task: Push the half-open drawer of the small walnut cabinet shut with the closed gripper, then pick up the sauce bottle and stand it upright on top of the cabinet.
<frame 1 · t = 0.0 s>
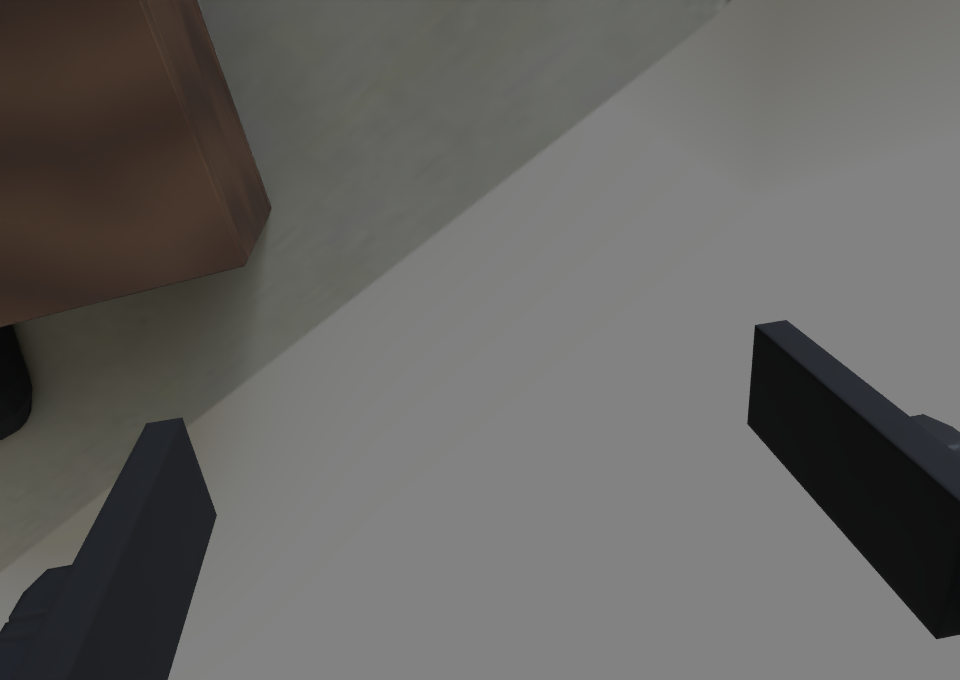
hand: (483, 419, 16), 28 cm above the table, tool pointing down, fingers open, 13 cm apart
cabinet: (107, 106, 38), on the table
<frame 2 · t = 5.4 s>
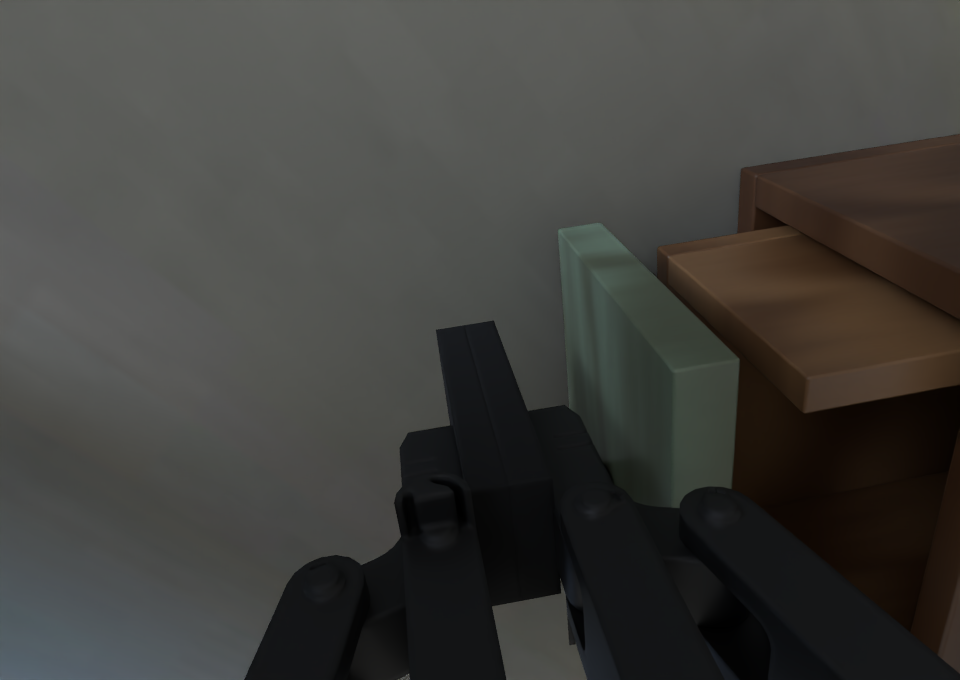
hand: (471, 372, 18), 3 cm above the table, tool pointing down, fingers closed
drawer: (839, 449, 18), point 5 cm above the table, slide at 4.3 cm, touching gripper
cabinet: (942, 326, 23), on the table
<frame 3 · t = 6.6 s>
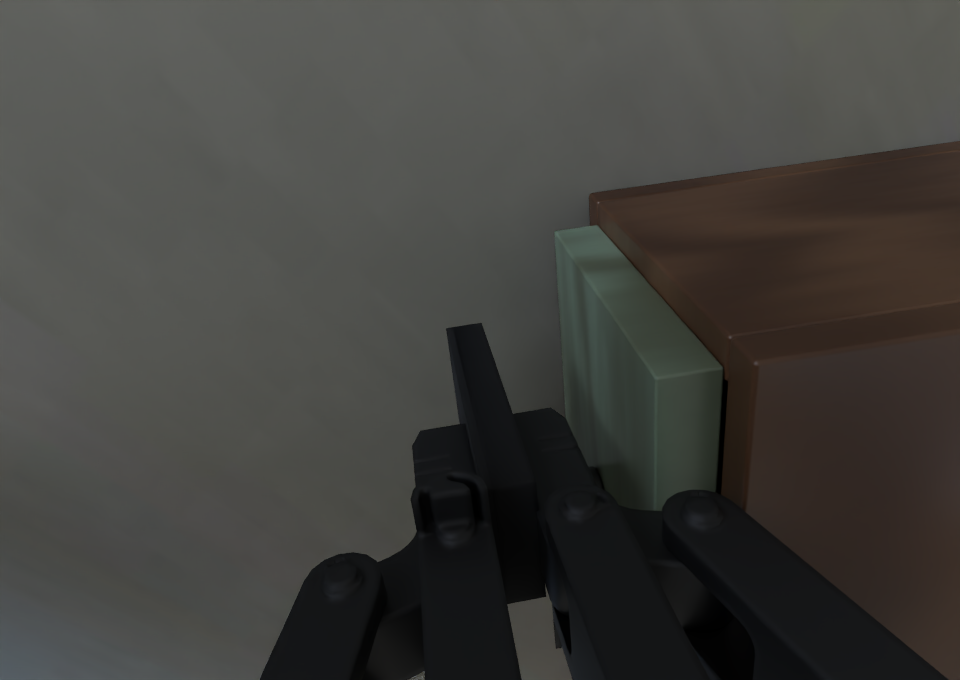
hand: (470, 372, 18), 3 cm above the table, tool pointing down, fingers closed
drawer: (835, 458, 18), point 5 cm above the table, slide at 0.0 cm, touching cabinet, gripper
cabinet: (820, 355, 23), on the table
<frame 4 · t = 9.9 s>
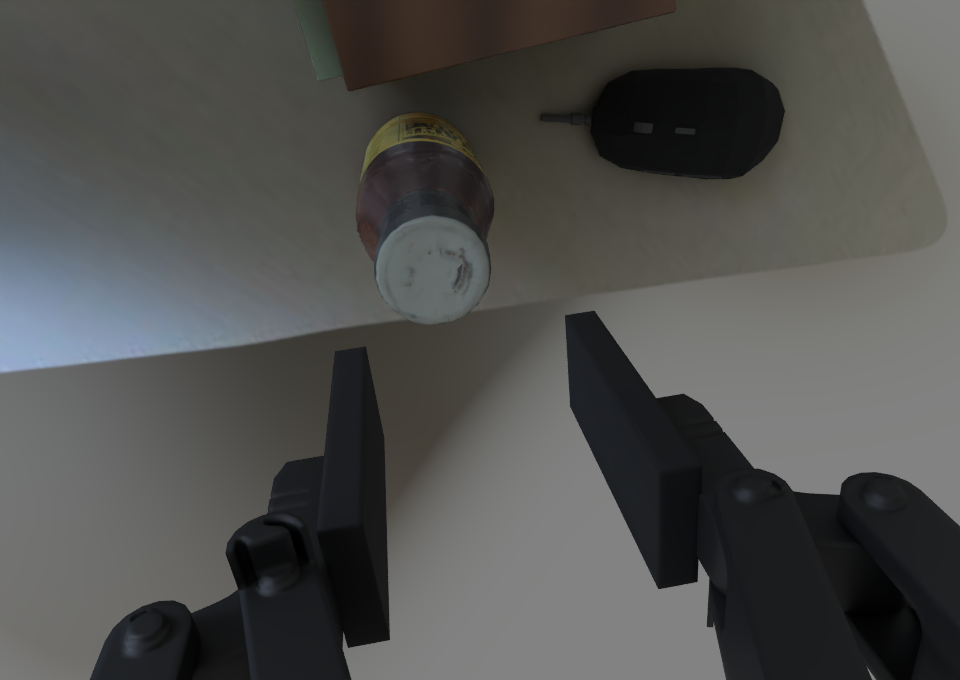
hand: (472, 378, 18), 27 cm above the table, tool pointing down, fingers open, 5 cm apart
sauce bottle: (415, 159, 42), on the table
gaming mouse: (658, 119, 43), on the table
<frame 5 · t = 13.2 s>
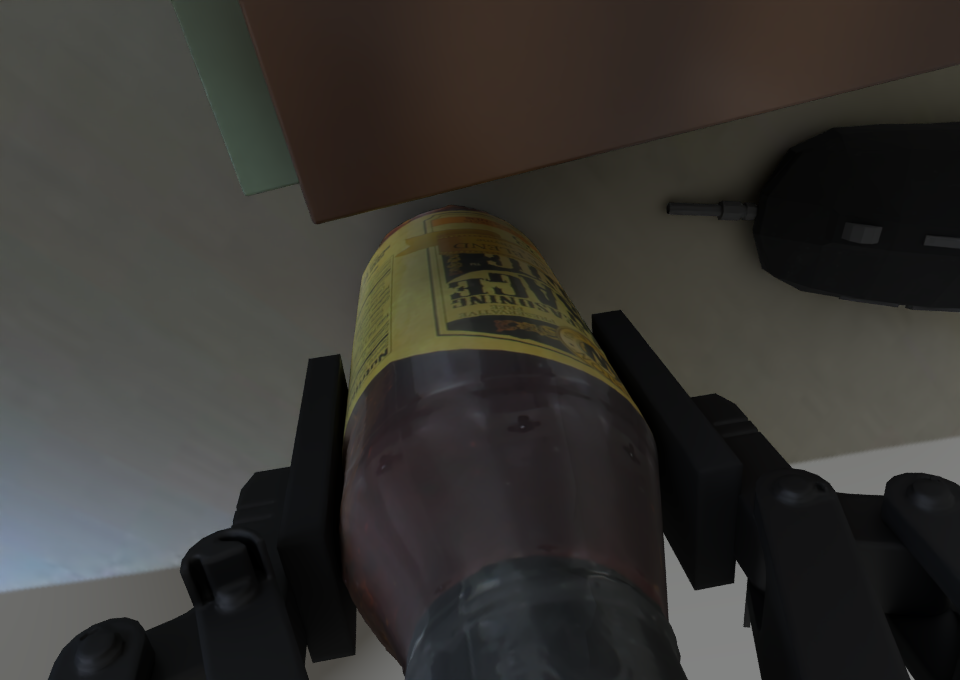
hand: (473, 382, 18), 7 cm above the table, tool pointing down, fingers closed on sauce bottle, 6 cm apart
sauce bottle: (446, 280, 24), on the table, touching gripper
gaming mouse: (861, 207, 25), on the table
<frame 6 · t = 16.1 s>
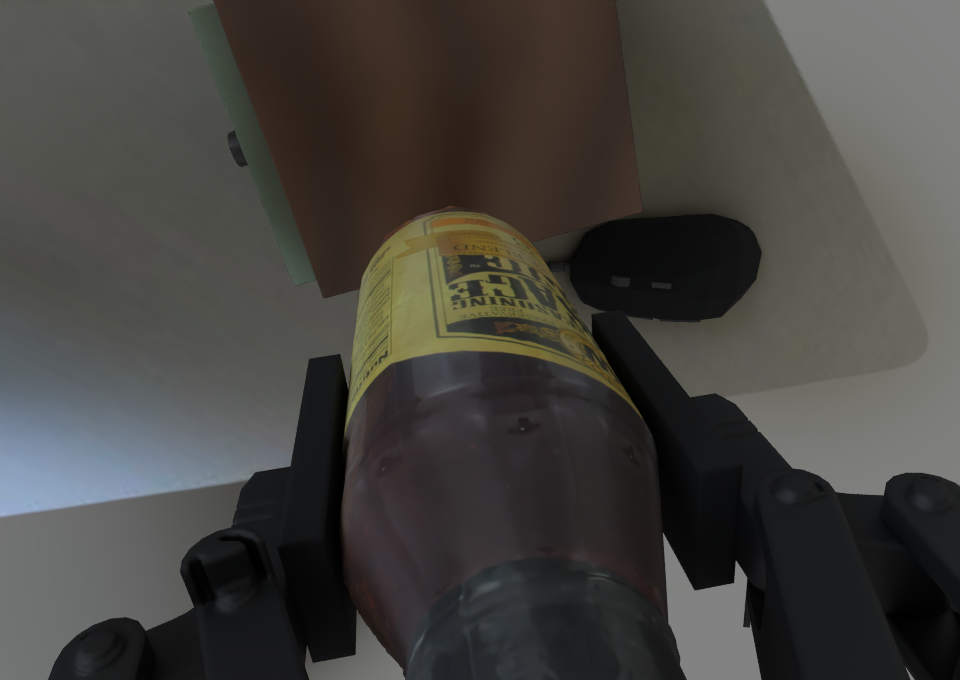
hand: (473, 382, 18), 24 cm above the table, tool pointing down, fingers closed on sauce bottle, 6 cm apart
sauce bottle: (446, 281, 24), point 17 cm above the table, touching gripper
drawer: (388, 108, 33), point 5 cm above the table, slide at 0.0 cm
gaming mouse: (637, 262, 44), on the table
cabinet: (430, 83, 37), on the table
when the fingers open (17 cm above the table, at t = 19.0 s): sauce bottle stays where it is, resting on cabinet.
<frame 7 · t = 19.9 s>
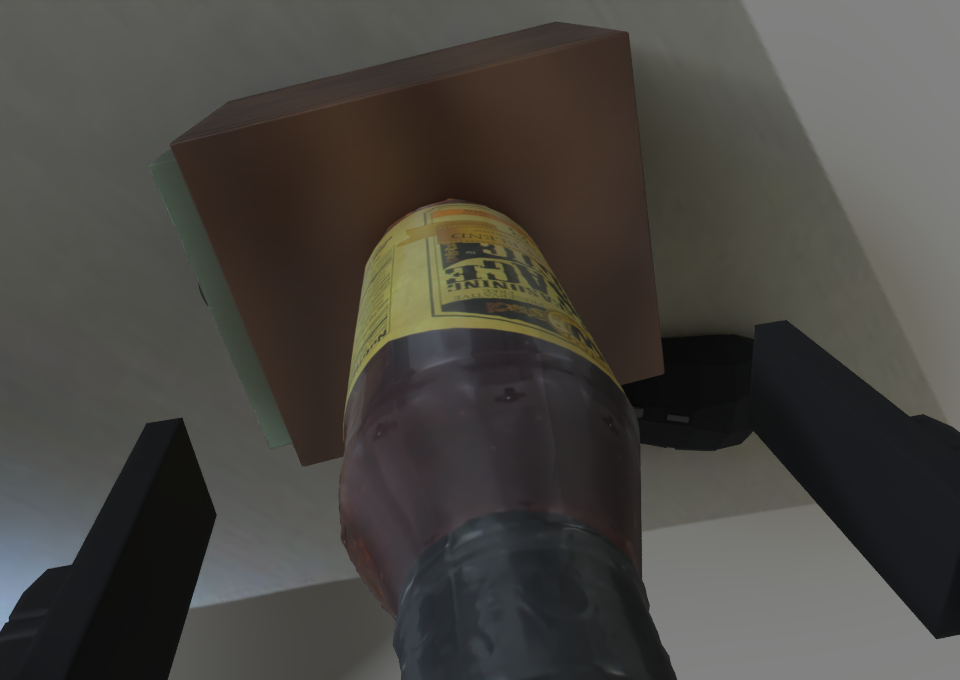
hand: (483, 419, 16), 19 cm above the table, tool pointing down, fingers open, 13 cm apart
sauce bottle: (447, 271, 25), point 10 cm above the table, touching cabinet
drawer: (380, 246, 29), point 5 cm above the table, slide at 0.0 cm
gaming mouse: (650, 381, 40), on the table
cabinet: (428, 201, 34), on the table
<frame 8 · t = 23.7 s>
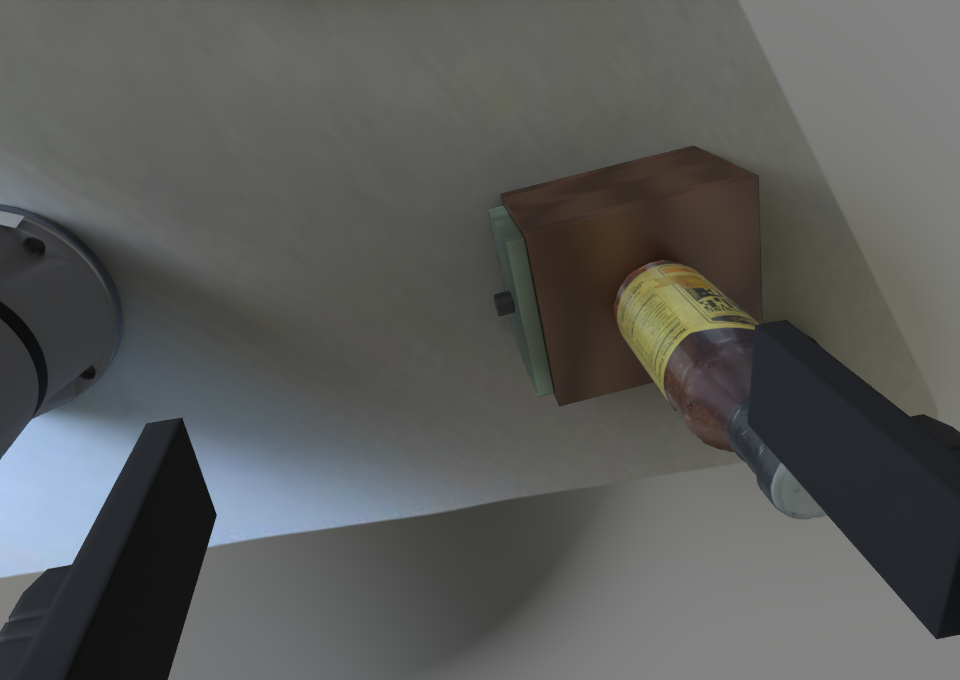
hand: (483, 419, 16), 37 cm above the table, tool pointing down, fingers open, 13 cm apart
sauce bottle: (652, 297, 46), point 10 cm above the table, touching cabinet
drawer: (596, 280, 50), point 5 cm above the table, slide at 0.0 cm
cabinet: (608, 249, 55), on the table
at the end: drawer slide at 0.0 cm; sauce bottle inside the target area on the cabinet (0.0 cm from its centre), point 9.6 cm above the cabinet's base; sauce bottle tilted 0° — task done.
